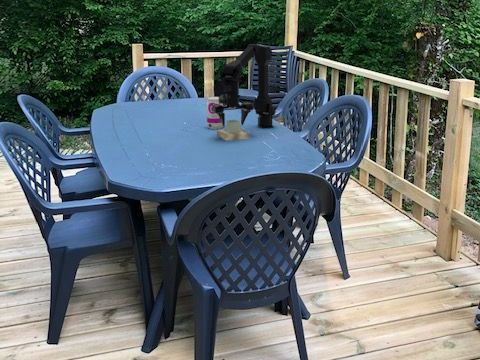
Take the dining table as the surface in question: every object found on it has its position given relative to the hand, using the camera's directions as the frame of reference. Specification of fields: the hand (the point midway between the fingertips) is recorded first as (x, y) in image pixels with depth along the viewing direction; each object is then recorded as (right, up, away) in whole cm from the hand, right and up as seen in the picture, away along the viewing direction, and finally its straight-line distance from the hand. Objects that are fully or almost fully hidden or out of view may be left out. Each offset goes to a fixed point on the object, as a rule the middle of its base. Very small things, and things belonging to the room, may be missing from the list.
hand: (232, 125), depth 267 cm
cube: (0, -3, +1) cm, 3 cm away
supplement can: (-9, +1, +21) cm, 23 cm away
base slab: (0, -5, +2) cm, 6 cm away
